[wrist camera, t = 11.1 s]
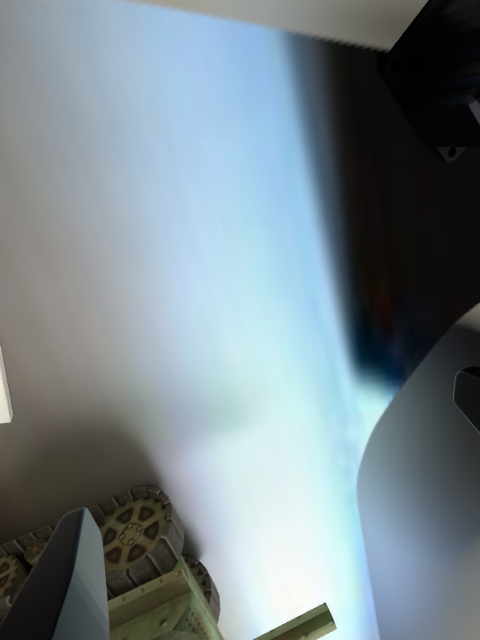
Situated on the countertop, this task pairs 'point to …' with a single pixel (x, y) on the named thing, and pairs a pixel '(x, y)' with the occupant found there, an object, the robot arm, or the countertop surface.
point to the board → (4, 395)
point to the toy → (148, 575)
